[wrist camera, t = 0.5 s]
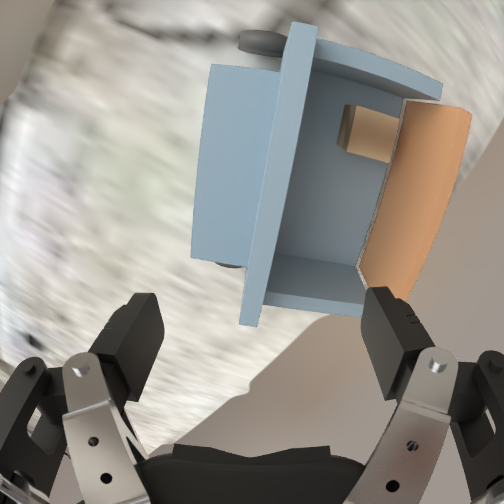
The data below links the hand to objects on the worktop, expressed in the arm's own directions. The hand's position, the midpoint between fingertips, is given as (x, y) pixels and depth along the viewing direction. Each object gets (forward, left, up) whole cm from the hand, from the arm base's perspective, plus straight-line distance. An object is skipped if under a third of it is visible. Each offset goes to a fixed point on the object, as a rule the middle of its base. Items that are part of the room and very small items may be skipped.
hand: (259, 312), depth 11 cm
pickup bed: (-2, +3, -25) cm, 25 cm away
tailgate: (-4, +12, -19) cm, 23 cm away
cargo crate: (-8, +7, -19) cm, 22 cm away
